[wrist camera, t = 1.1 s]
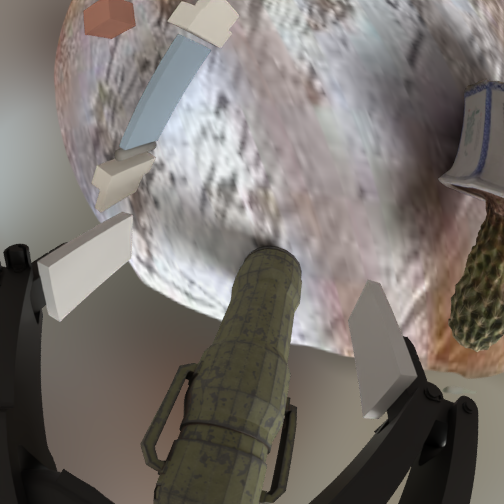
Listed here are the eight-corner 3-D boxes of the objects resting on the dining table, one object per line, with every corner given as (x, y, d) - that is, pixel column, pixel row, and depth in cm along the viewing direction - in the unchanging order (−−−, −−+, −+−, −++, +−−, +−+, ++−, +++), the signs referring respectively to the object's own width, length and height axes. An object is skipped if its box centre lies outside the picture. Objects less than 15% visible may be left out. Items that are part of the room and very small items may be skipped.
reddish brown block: (109, 17, 25) (83, 11, 19) (132, 3, 23) (108, -6, 18) (111, 38, 27) (85, 34, 21) (135, 25, 25) (110, 18, 20)
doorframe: (227, 10, 23) (197, -19, 15) (244, 17, 24) (218, -12, 15) (127, 185, 38) (84, 209, 29) (139, 193, 38) (97, 220, 30)
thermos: (241, 232, 38) (100, 504, 8) (321, 262, 38) (296, 556, 8) (225, 281, 43) (120, 507, 13) (297, 307, 42) (253, 547, 12)
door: (203, 46, 26) (176, 33, 20) (212, 50, 26) (187, 37, 20) (146, 146, 34) (113, 157, 27) (153, 151, 34) (121, 163, 28)
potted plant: (497, 43, 9) (440, 396, 17) (586, 124, 7) (537, 375, 15) (418, 89, 26) (388, 310, 34) (508, 129, 24) (478, 315, 32)
